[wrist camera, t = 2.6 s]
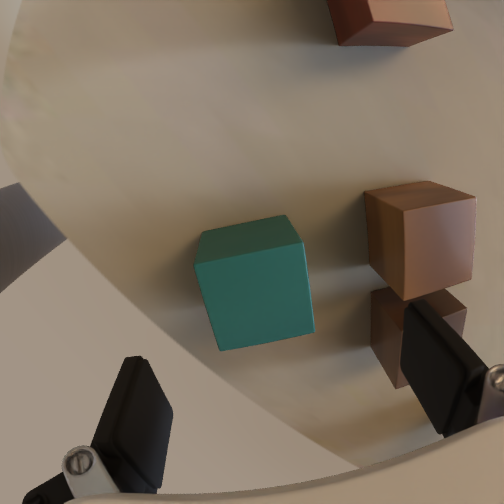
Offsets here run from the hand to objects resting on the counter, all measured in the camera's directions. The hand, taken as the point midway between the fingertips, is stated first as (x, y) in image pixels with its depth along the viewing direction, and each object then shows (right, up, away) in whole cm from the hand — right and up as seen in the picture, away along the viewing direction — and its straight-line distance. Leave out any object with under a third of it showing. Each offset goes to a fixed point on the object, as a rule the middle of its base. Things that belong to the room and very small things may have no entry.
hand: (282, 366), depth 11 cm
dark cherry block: (+6, +19, +4) cm, 20 cm away
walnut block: (+10, -1, +11) cm, 15 cm away
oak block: (+9, +6, +9) cm, 14 cm away
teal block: (-1, +3, +9) cm, 10 cm away
